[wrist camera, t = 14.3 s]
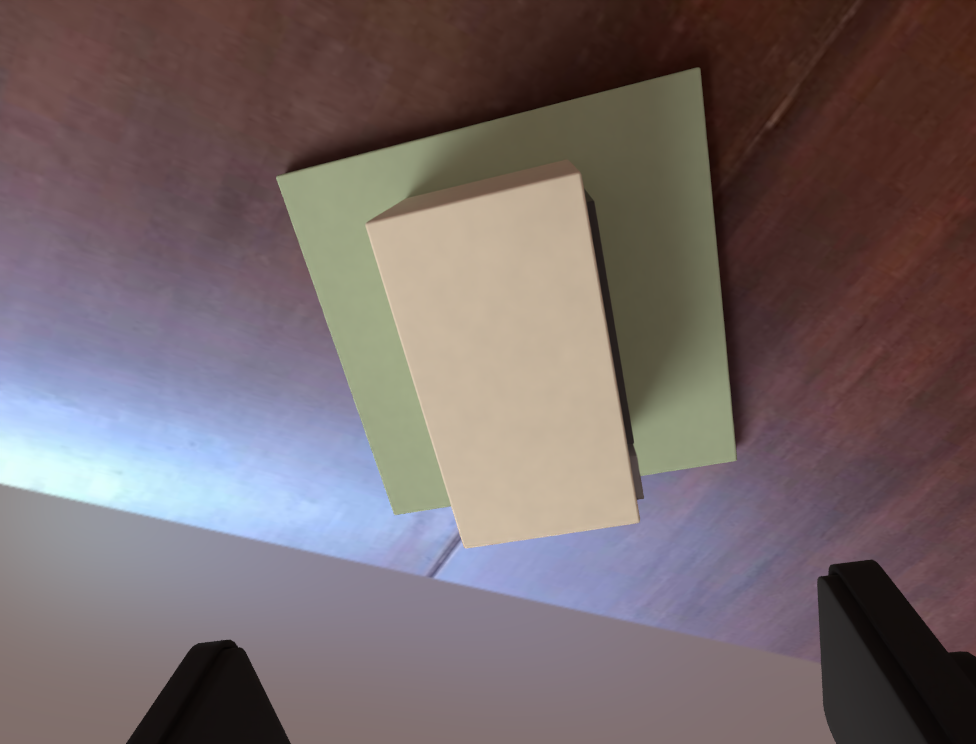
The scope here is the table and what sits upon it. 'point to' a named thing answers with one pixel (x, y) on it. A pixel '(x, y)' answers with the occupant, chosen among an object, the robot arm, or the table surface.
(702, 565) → the table surface
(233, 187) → the table surface
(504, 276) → the toy oven
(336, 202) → the mat
